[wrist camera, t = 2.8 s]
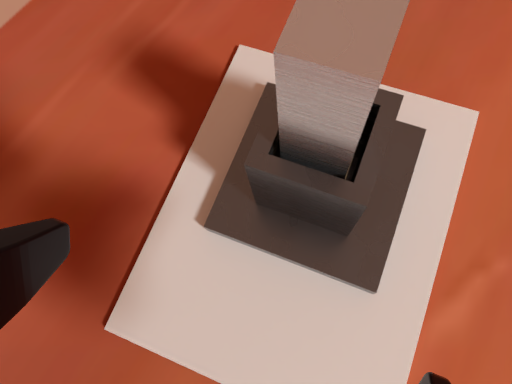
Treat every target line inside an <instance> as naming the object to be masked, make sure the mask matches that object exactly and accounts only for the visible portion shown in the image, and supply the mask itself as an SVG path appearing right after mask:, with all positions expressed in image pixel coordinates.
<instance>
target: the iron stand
mask: <svg viewBox="0 0 512 384" xmlns="http://www.w3.org/2000/svg"><path fill="white" fill-rule="evenodd" d="M403 97H404V95H401V94H397V93H394V92H390V91H387V90H383V89H380V88H378V91H377V94H376V96H375V99H374V102H373V104H372V107H371V110H370V112H369V115H368V118H367V120H366V123H365V126H364V128H363V131H362V134H361V137H360V139H359V142H358V145H357V148H356V151H355V154H354V156H353V159H352V162H351V165H350V168H349V171H348V173H347V176H346V179H345V180H344V179H341V178H338V177H335V176H332V175H329V174H326V173H323V172H320V171H317V170H314V169H311V168H308V167H305V166H303V165H300V164H297V163H294V162H291V161H288V160H285V159H282V158H281V155H280V141H279V126H278V111H277V96H276V84H273V83H269V82H267V84H266V86H265V88H264V91H263V93H262V95H261V97H260V100H259V102H258V104H257V106H256V109H255V111H254V113H253V116H252V118H251V120H250V122H249V125H248V127H247V129H246V131H245V134H244V136H243V138H242V140H241V143H240V145H239V147H238V149H237V152H236V154H235V156H234V159H233V161H232V163H231V165H230V168H229V170H228V172H227V174H226V177H225V179H224V181H223V183H222V186H221V188H220V190H219V192H218V195H217V197H216V199H215V202H214V204H213V206H212V208H211V211H210V213H209V215H208V217H207V220H206V222H205V224H204V226H203V227H204V228H205V229H206V230H207V231H210V232H212V233H215V234H218V235H220V236H223V237H225V238H228V239H231V240H233V241H236V242H238V243H241V244H244V245H246V246H249V247H251V248H254V249H257V250H259V251H262V252H264V253H267V254H270V255H272V256H275V257H277V258H280V259H283V260H285V261H288V262H290V263H293V264H296V265H298V266H301V267H303V268H306V269H308V270H311V271H314V272H316V273H319V274H321V275H324V276H327V277H329V278H332V279H334V280H337V281H340V282H342V283H345V284H347V285H350V286H353V287H355V288H358V289H360V290H363V291H366V292H368V293H371V294H375V293H377V290H378V287H379V283H380V280H381V277H382V273H383V270H384V267H385V264H386V260H387V257H388V254H389V250H390V247H391V244H392V241H393V237H394V234H395V231H396V227H397V224H398V221H399V218H400V214H401V211H402V208H403V204H404V201H405V198H406V195H407V191H408V188H409V185H410V182H411V178H412V175H413V172H414V168H415V165H416V162H417V159H418V155H419V152H420V149H421V145H422V142H423V139H424V136H425V132H426V129H424V128H421V127H418V126H414V125H411V124H407V123H404V122H401V121H397V120H396V118H397V115H398V112H399V109H400V106H401V103H402V100H403Z"/></svg>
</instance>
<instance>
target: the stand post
mask: <svg viewBox="0 0 512 384" xmlns="http://www.w3.org/2000/svg"><path fill="white" fill-rule="evenodd" d="M409 1H410V0H296V2H295V5H294V7H293V9H292V11H291V13H290V16H289V18H288V20H287V22H286V25H285V27H284V29H283V31H282V34H281V36H280V38H279V40H278V43H277V45H276V47H275V49H274V51H273V52H274V67H275V82H276V96H277V111H278V126H279V141H280V155H281V158H282V159H285V160H288V161H291V162H294V163H297V164H300V165H303V166H305V167H308V168H311V169H314V170H317V171H320V172H323V173H326V174H329V175H332V176H335V177H338V178H341V179H344V180H345V179H346V176H347V173H348V171H349V168H350V165H351V162H352V159H353V156H354V154H355V151H356V148H357V145H358V142H359V139H360V137H361V134H362V131H363V128H364V126H365V123H366V120H367V118H368V115H369V112H370V110H371V107H372V104H373V102H374V99H375V96H376V94H377V91H378V88H379V86H380V83H381V80H382V77H383V74H384V72H385V69H386V66H387V63H388V60H389V57H390V55H391V52H392V49H393V46H394V43H395V40H396V38H397V35H398V32H399V29H400V26H401V23H402V20H403V18H404V15H405V12H406V9H407V6H408V3H409Z"/></svg>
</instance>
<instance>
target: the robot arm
mask: <svg viewBox="0 0 512 384" xmlns="http://www.w3.org/2000/svg"><path fill="white" fill-rule="evenodd" d="M69 252H70V229H69V226H68V224H67V223H65V222H63V221H60V220H58V219H55V218H50V219H45V220H41V221H36V222H31V223H27V224H22V225H17V226H13V227H8V228H3V229H0V329H1V328H2V327H3V326H4V325H5V324H7V323H8V322H9V321H10V320H11V319H12V318H13V317H14V316H15V315H16V314H17V313H18V312H19V311H20V310H21V309H22V308H23V307H24V306H25V305H26V304H27V303H28V302H29V301H30V300H31V298H32V297H33V296H34V295H35V294H36V293H37V292H38V290H39V289H40V288H41V287H42V286H43V285H44V283H45V282H46V281H47V280H48V279H49V278H50V277H51V275H52V274H53V273H54V272H55V271H56V270H57V268H58V267H59V266H60V265H61V264H62V263H63V261H64V260H65V259H66V258H67V256H68V254H69ZM419 384H451V383H450V381H449V380H448V379H446V378H444V377H442V376H439V375H437V374H434V373H432V372H428V373H426V374H425V375H424V377H423V378H422V380H421V381H420V383H419Z"/></svg>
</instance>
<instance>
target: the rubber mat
mask: <svg viewBox="0 0 512 384" xmlns="http://www.w3.org/2000/svg"><path fill="white" fill-rule="evenodd" d="M267 82H269V83H273V84H276V82H275V67H274V54H272V53H268V52H265V51H261V50H258V49H254V48H250V47H247V46H243V45H239V47H238V50H237V52H236V54H235V56H234V58H233V60H232V62H231V64H230V66H229V68H228V70H227V73H226V75H225V77H224V79H223V81H222V83H221V85H220V87H219V89H218V91H217V93H216V96H215V98H214V100H213V102H212V104H211V106H210V108H209V110H208V112H207V114H206V117H205V119H204V121H203V123H202V125H201V127H200V129H199V131H198V133H197V135H196V137H195V140H194V142H193V144H192V146H191V148H190V150H189V152H188V154H187V156H186V158H185V161H184V163H183V165H182V167H181V169H180V171H179V173H178V175H177V177H176V179H175V181H174V184H173V186H172V188H171V190H170V192H169V194H168V196H167V198H166V200H165V202H164V204H163V207H162V209H161V211H160V213H159V215H158V217H157V219H156V221H155V223H154V225H153V228H152V230H151V232H150V234H149V236H148V238H147V240H146V242H145V244H144V246H143V248H142V251H141V253H140V255H139V257H138V259H137V261H136V263H135V265H134V267H133V269H132V272H131V274H130V276H129V278H128V280H127V282H126V284H125V286H124V288H123V290H122V292H121V295H120V297H119V299H118V301H117V303H116V305H115V307H114V309H113V311H112V313H111V315H110V318H109V320H108V322H107V324H106V326H105V328H104V329H105V330H107V331H109V332H111V333H113V334H116V335H118V336H120V337H122V338H124V339H126V340H129V341H131V342H133V343H135V344H137V345H139V346H141V347H144V348H146V349H148V350H150V351H152V352H154V353H157V354H159V355H161V356H163V357H165V358H167V359H170V360H172V361H174V362H176V363H178V364H180V365H183V366H185V367H187V368H189V369H191V370H193V371H195V372H198V373H200V374H202V375H204V376H206V377H208V378H211V379H213V380H215V381H217V382H219V383H221V384H406V383H407V380H408V376H409V372H410V369H411V365H412V361H413V357H414V354H415V350H416V346H417V342H418V339H419V335H420V331H421V327H422V324H423V320H424V316H425V313H426V309H427V305H428V301H429V298H430V294H431V290H432V286H433V283H434V279H435V275H436V272H437V268H438V264H439V260H440V257H441V253H442V249H443V245H444V242H445V238H446V234H447V230H448V227H449V223H450V219H451V216H452V212H453V208H454V204H455V201H456V197H457V193H458V189H459V186H460V182H461V178H462V175H463V171H464V167H465V163H466V160H467V156H468V152H469V148H470V145H471V141H472V137H473V133H474V130H475V126H476V122H477V119H478V115H479V112H478V111H474V110H471V109H467V108H464V107H460V106H457V105H453V104H450V103H446V102H442V101H439V100H435V99H432V98H428V97H425V96H421V95H418V94H414V93H410V92H407V91H403V90H400V89H396V88H393V87H389V86H386V85H382V84H380V86H379V88H380V89H383V90H387V91H390V92H394V93H397V94H401V95H404V97H403V100H402V103H401V106H400V109H399V112H398V115H397V118H396V120H397V121H401V122H404V123H407V124H411V125H414V126H418V127H421V128H424V129H426V132H425V136H424V139H423V142H422V145H421V149H420V152H419V155H418V159H417V162H416V165H415V168H414V172H413V175H412V178H411V182H410V185H409V188H408V191H407V195H406V198H405V201H404V204H403V208H402V211H401V214H400V218H399V221H398V224H397V227H396V231H395V234H394V237H393V241H392V244H391V247H390V250H389V254H388V257H387V260H386V264H385V267H384V270H383V273H382V277H381V280H380V283H379V287H378V290H377V293H375V294H371V293H368V292H366V291H363V290H360V289H358V288H355V287H353V286H350V285H347V284H345V283H342V282H340V281H337V280H334V279H332V278H329V277H327V276H324V275H321V274H319V273H316V272H314V271H311V270H308V269H306V268H303V267H301V266H298V265H296V264H293V263H290V262H288V261H285V260H283V259H280V258H277V257H275V256H272V255H270V254H267V253H264V252H262V251H259V250H257V249H254V248H251V247H249V246H246V245H244V244H241V243H238V242H236V241H233V240H231V239H228V238H225V237H223V236H220V235H218V234H215V233H212V232H210V231H207V230H206V229H205V228H204V227H203V226H204V224H205V222H206V220H207V217H208V215H209V213H210V211H211V208H212V206H213V204H214V202H215V199H216V197H217V195H218V192H219V190H220V188H221V186H222V183H223V181H224V179H225V177H226V174H227V172H228V170H229V168H230V165H231V163H232V161H233V159H234V156H235V154H236V152H237V149H238V147H239V145H240V143H241V140H242V138H243V136H244V134H245V131H246V129H247V127H248V125H249V122H250V120H251V118H252V116H253V113H254V111H255V109H256V106H257V104H258V102H259V100H260V97H261V95H262V93H263V91H264V88H265V86H266V84H267Z"/></svg>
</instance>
